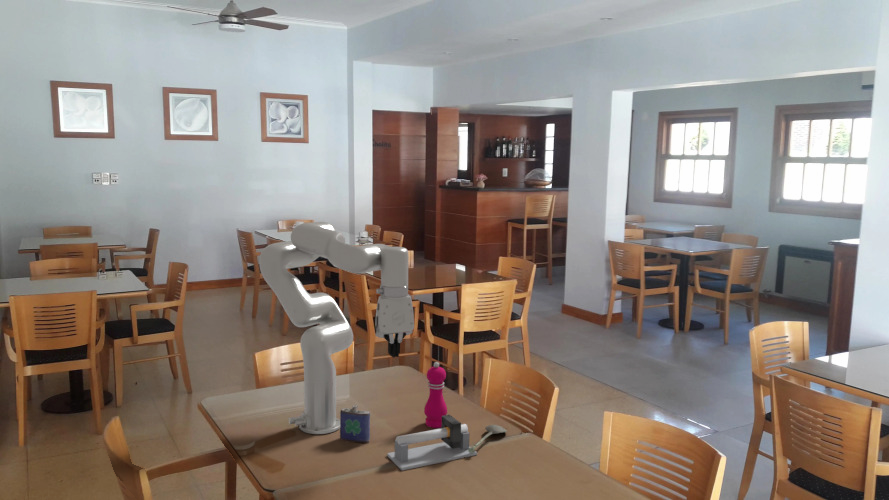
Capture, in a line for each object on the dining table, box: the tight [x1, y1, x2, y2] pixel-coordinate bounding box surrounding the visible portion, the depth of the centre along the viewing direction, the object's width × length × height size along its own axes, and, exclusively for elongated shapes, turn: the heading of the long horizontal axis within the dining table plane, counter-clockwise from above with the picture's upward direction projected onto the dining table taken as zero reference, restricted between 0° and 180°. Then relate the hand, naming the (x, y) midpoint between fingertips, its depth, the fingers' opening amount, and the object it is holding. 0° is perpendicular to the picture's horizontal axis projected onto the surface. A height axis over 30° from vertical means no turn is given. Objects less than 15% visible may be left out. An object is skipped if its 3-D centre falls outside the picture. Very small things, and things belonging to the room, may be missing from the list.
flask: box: [339, 404, 371, 444], centre depth 197 cm, size 9×3×11 cm, turn 74°
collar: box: [440, 414, 462, 449], centre depth 190 cm, size 2×7×7 cm, turn 27°
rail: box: [386, 423, 478, 471], centre depth 187 cm, size 23×10×7 cm, turn 117°
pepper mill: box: [423, 361, 448, 429], centre depth 209 cm, size 7×7×20 cm
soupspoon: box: [468, 424, 508, 453], centre depth 197 cm, size 22×3×7 cm
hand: (394, 355), depth 189 cm, fingers closed
